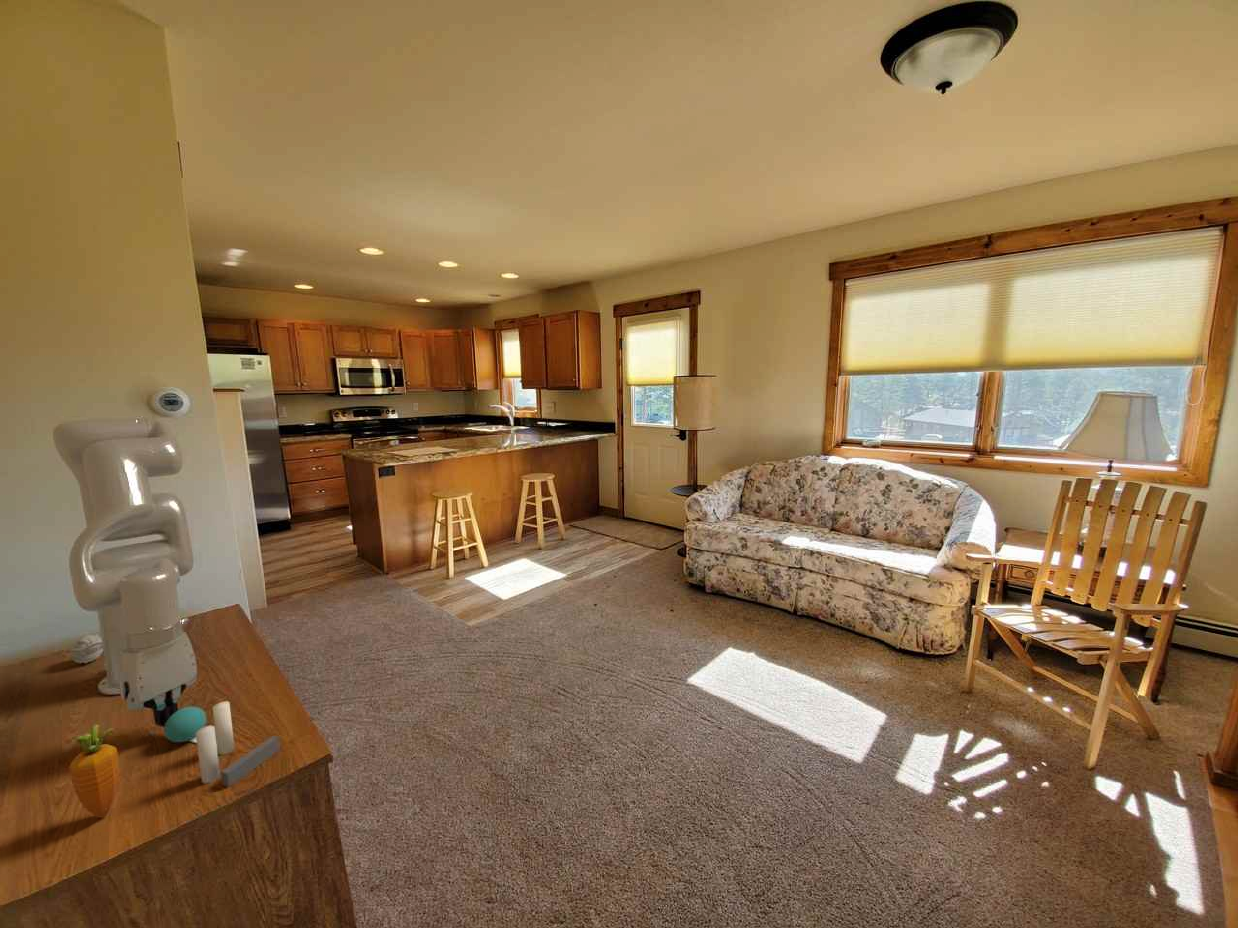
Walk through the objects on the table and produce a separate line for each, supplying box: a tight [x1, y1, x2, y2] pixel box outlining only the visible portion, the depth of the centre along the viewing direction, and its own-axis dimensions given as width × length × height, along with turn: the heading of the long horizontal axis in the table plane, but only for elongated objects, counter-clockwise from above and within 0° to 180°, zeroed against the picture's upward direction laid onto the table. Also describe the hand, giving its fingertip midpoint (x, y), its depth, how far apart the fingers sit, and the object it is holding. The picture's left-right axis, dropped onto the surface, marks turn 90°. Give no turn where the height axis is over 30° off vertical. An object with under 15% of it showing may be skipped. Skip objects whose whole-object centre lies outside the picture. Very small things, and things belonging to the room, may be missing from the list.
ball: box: [163, 706, 207, 743], centre depth 92 cm, size 6×6×6 cm
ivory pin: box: [212, 700, 235, 756], centre depth 89 cm, size 2×2×9 cm
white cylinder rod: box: [195, 725, 221, 784], centre depth 82 cm, size 2×2×9 cm
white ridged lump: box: [68, 634, 104, 664], centre depth 117 cm, size 6×7×7 cm
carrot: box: [69, 724, 120, 819], centre depth 74 cm, size 5×5×15 cm
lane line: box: [187, 736, 217, 745], centre depth 91 cm, size 9×1×1 cm, turn 73°
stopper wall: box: [220, 735, 281, 788], centre depth 85 cm, size 2×9×2 cm, turn 163°
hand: (167, 723), depth 93 cm, fingers closed
